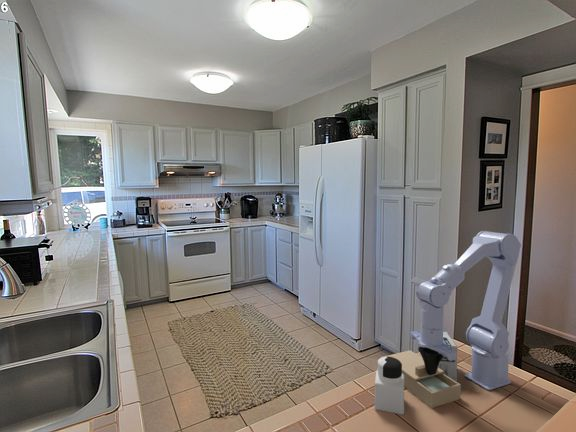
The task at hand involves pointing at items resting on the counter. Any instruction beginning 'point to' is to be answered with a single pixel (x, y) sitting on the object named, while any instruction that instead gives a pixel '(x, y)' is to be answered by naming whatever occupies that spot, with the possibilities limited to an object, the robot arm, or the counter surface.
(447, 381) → the base
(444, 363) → the light bulb box
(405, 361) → the mailer lid
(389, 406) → the medicine bottle
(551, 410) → the counter surface
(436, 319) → the robot arm
